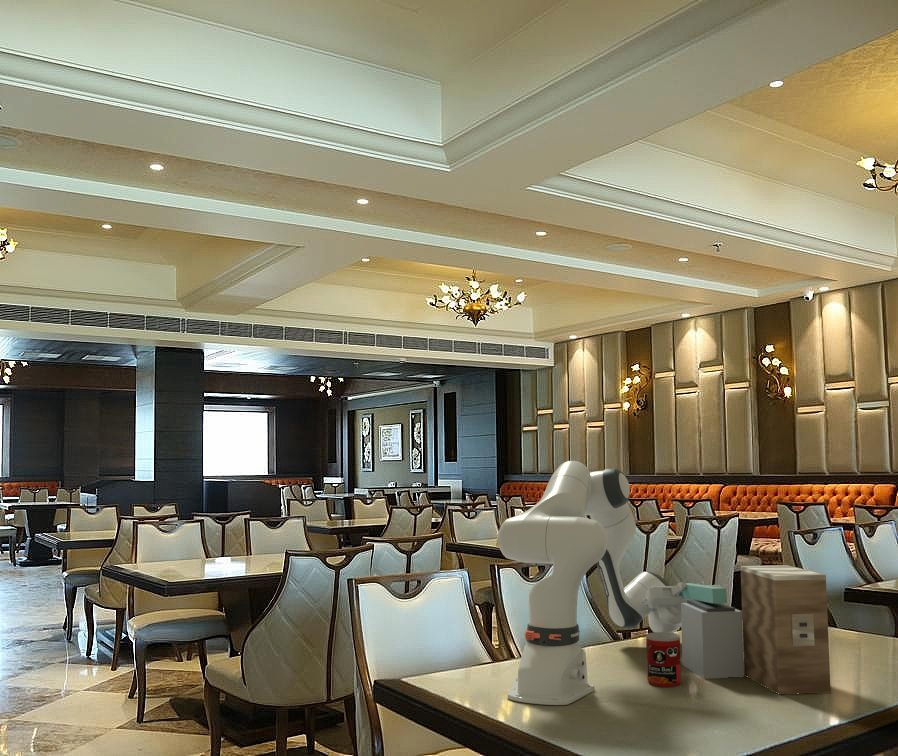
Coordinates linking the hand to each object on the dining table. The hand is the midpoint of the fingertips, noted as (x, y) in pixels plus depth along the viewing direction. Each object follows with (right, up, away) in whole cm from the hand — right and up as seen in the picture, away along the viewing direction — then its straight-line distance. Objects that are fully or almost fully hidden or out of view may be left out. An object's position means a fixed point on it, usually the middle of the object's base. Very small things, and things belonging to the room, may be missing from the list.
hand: (693, 584), depth 232 cm
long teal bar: (+1, -3, -6) cm, 6 cm away
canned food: (-13, -18, -24) cm, 33 cm away
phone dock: (+1, -18, -13) cm, 22 cm away
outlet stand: (+15, -17, -26) cm, 34 cm away
